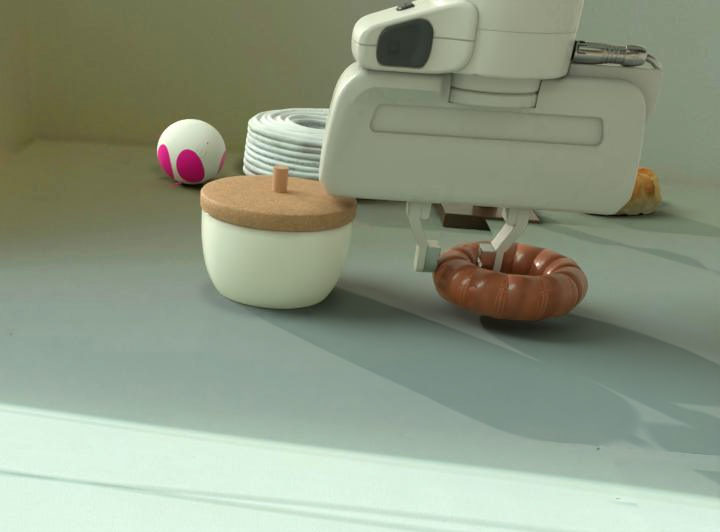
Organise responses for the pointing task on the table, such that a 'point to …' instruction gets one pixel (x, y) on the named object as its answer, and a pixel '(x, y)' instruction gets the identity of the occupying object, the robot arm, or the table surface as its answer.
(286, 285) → the trinket box
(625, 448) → the table surface
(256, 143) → the cable
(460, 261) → the ring
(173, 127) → the stress ball
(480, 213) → the stand
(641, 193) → the pastry
